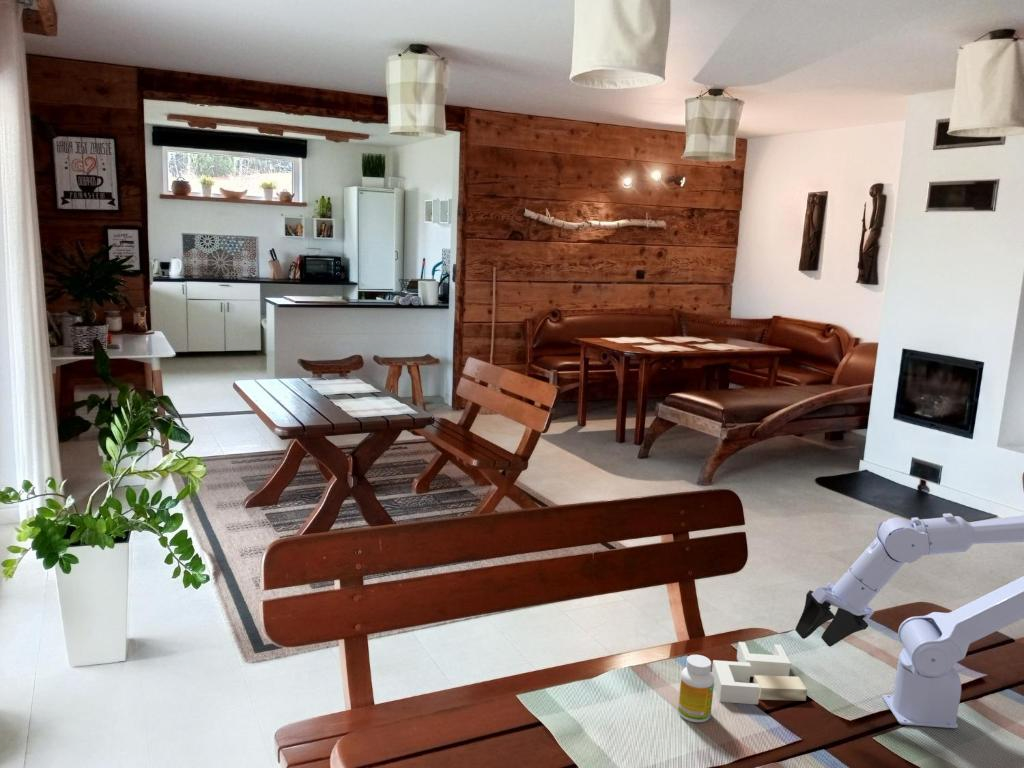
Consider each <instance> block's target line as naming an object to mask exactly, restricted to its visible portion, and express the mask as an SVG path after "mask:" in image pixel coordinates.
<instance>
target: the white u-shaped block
mask: <svg viewBox="0 0 1024 768" xmlns="http://www.w3.org/2000/svg"><path fill="white" fill-rule="evenodd" d="M772 652H773V654H765V653H764V654H762V653H750V651H749V648H748V646H747V643H746V642H745V641H738V643H737V650H736V660H737V662H746V663H750V665H751V672H750V678H751V677H752V678H754V675H762V676H790V670H791V662H790V659H789V658H788V656H787V654H786V652H785V650H784V648H783V645H781V644H775V643H774V646H773V651H772Z"/></svg>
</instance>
